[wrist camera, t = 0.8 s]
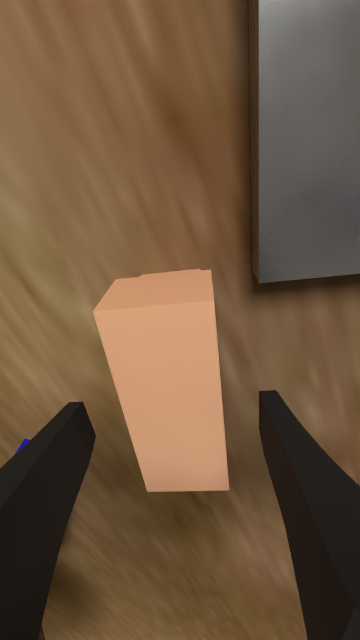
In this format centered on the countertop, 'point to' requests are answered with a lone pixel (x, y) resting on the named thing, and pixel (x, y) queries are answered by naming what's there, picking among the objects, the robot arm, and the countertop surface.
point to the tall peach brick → (168, 376)
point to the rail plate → (304, 138)
